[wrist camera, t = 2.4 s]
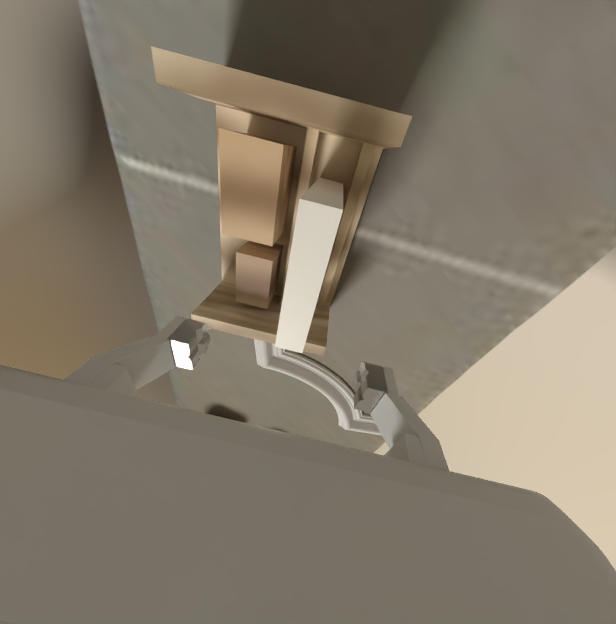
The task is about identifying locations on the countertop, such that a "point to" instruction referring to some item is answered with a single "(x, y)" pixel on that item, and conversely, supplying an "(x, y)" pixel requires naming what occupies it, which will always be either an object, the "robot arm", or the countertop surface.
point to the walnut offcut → (257, 273)
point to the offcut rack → (307, 170)
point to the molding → (317, 383)
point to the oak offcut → (254, 186)
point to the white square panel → (308, 260)
